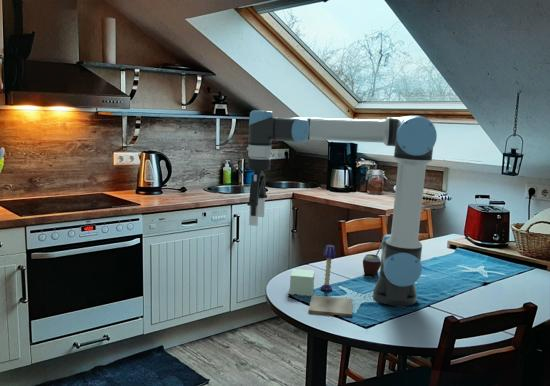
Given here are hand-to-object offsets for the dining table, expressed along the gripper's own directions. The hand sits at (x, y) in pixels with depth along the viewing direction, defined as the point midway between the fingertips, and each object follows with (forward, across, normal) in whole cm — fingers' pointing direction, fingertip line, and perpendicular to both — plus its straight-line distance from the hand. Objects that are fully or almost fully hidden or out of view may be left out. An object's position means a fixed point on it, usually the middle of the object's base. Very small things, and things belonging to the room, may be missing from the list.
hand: (256, 221), depth 183 cm
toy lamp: (+28, -16, +25) cm, 40 cm away
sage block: (+28, -12, +16) cm, 34 cm away
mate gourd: (+28, -38, +42) cm, 63 cm away
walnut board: (+27, +1, +26) cm, 38 cm away
